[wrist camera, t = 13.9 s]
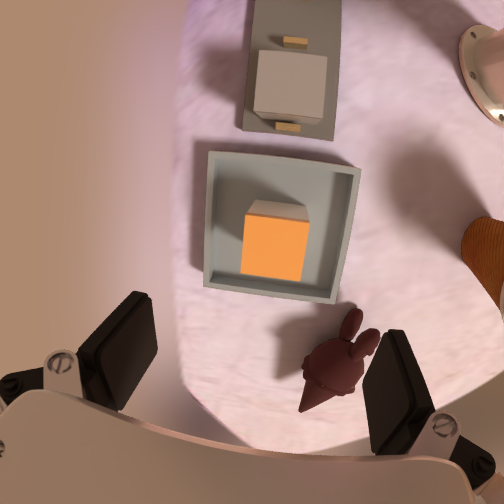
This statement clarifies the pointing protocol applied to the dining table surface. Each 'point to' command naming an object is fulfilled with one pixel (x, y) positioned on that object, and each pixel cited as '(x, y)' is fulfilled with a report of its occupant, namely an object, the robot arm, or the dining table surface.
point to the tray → (286, 191)
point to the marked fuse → (275, 240)
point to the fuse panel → (298, 41)
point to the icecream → (337, 362)
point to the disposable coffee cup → (486, 256)
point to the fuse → (290, 86)
